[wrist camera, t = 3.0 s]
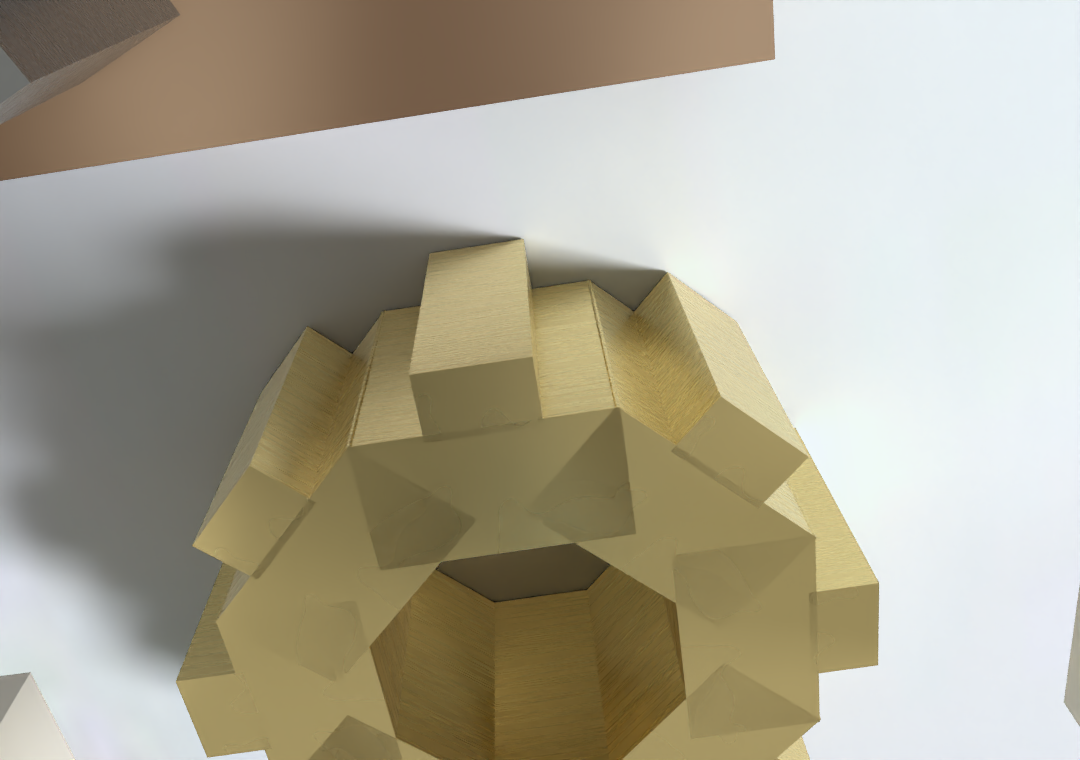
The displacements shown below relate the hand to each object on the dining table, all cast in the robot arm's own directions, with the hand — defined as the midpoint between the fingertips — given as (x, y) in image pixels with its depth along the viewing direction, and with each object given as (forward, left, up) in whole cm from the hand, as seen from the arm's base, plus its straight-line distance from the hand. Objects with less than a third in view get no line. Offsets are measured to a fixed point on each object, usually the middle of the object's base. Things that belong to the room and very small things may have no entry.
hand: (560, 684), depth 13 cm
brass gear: (0, 0, -5) cm, 5 cm away
